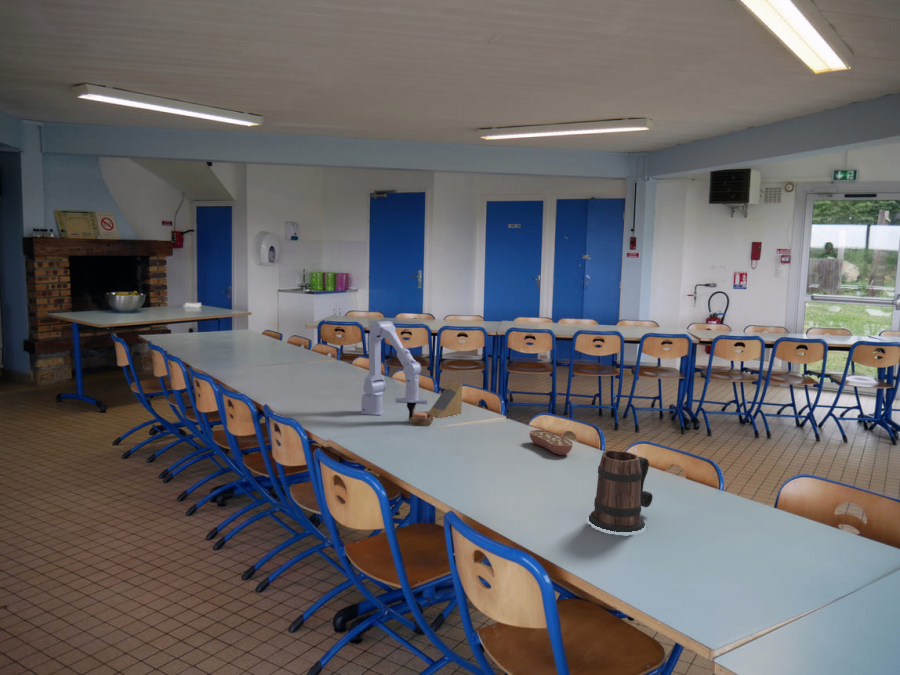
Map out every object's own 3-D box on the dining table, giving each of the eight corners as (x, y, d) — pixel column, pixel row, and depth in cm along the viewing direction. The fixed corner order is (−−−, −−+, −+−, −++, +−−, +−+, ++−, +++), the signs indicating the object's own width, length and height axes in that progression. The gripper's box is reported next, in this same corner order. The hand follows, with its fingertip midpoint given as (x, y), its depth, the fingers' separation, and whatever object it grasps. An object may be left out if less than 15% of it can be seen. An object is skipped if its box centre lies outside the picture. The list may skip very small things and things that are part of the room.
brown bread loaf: (524, 442, 261) (525, 430, 261) (545, 440, 265) (546, 428, 265) (556, 459, 241) (557, 446, 240) (578, 457, 245) (579, 444, 244)
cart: (411, 423, 285) (412, 409, 285) (413, 420, 291) (414, 406, 290) (425, 424, 285) (425, 410, 284) (427, 421, 291) (427, 407, 290)
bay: (409, 424, 283) (409, 418, 283) (413, 419, 293) (413, 412, 293) (429, 425, 282) (430, 419, 282) (433, 420, 292) (433, 413, 292)
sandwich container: (425, 415, 301) (425, 384, 299) (449, 411, 311) (450, 380, 310) (437, 419, 295) (438, 387, 293) (461, 414, 305) (462, 383, 303)
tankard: (622, 541, 171) (626, 468, 169) (573, 520, 184) (577, 452, 182) (673, 521, 185) (678, 454, 183) (625, 503, 199) (629, 440, 196)
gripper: (394, 390, 283) (393, 420, 285) (426, 392, 282) (425, 422, 283) (397, 387, 290) (396, 416, 292) (429, 389, 289) (428, 418, 290)
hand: (411, 419), depth 288 cm, fingers closed, pressing on cart
